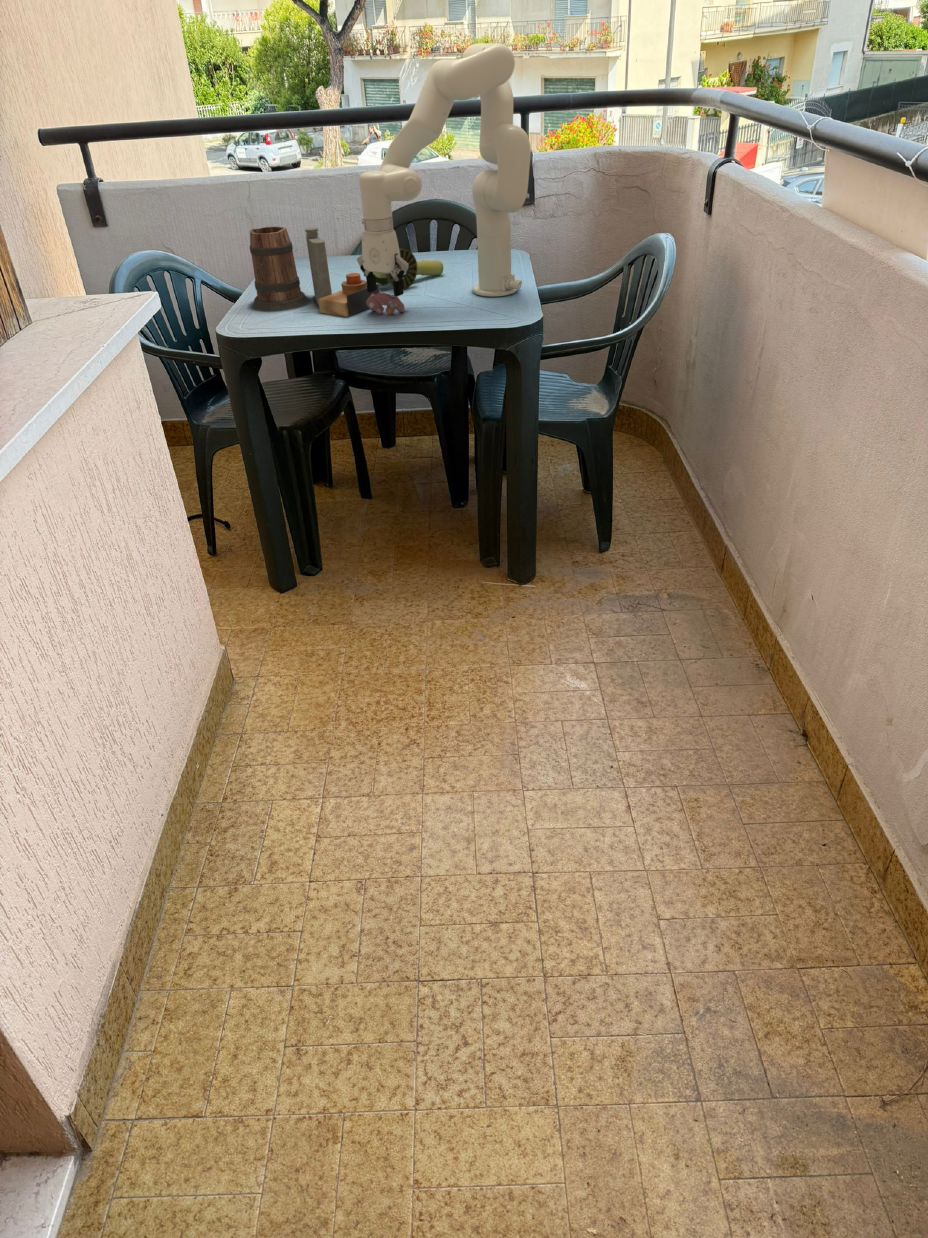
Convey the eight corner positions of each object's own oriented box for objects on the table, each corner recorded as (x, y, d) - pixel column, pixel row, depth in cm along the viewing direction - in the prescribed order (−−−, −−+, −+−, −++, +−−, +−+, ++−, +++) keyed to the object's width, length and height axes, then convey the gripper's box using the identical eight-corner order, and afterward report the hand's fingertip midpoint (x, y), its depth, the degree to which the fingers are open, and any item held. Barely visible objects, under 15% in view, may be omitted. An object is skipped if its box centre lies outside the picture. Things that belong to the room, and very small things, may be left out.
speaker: (381, 303, 241) (379, 281, 237) (346, 316, 231) (343, 294, 227) (355, 298, 245) (352, 277, 242) (320, 312, 236) (316, 290, 232)
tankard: (304, 309, 239) (292, 233, 227) (245, 312, 239) (231, 237, 228) (316, 287, 258) (306, 217, 246) (262, 290, 258) (249, 220, 247)
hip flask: (334, 307, 239) (324, 231, 227) (320, 309, 238) (309, 233, 226) (325, 294, 251) (314, 221, 240) (311, 295, 251) (300, 223, 239)
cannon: (429, 271, 268) (426, 233, 261) (452, 277, 260) (450, 238, 254) (364, 287, 255) (360, 247, 249) (387, 294, 248) (383, 253, 241)
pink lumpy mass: (369, 319, 233) (362, 299, 227) (374, 307, 235) (367, 287, 229) (402, 320, 231) (396, 300, 225) (406, 308, 233) (400, 288, 227)
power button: (364, 282, 238) (363, 273, 236) (354, 286, 235) (353, 276, 234) (353, 281, 240) (352, 272, 238) (344, 284, 237) (343, 275, 236)
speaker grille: (380, 302, 239) (378, 283, 236) (350, 314, 231) (347, 295, 228) (379, 302, 240) (377, 283, 237) (348, 314, 231) (346, 294, 228)
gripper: (344, 225, 220) (352, 292, 230) (395, 230, 212) (401, 300, 222) (363, 219, 225) (370, 286, 235) (413, 224, 216) (418, 293, 226)
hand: (385, 292), depth 228 cm, fingers open, 9 cm apart
